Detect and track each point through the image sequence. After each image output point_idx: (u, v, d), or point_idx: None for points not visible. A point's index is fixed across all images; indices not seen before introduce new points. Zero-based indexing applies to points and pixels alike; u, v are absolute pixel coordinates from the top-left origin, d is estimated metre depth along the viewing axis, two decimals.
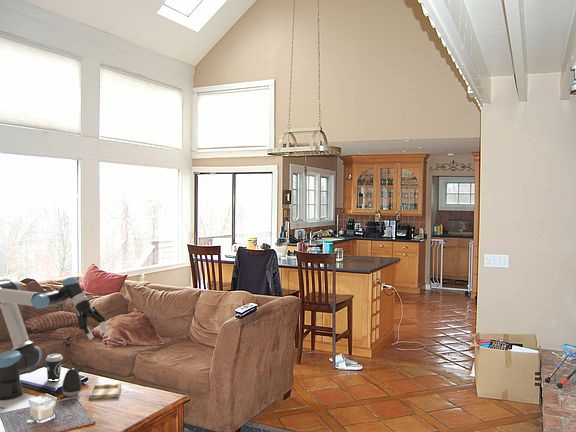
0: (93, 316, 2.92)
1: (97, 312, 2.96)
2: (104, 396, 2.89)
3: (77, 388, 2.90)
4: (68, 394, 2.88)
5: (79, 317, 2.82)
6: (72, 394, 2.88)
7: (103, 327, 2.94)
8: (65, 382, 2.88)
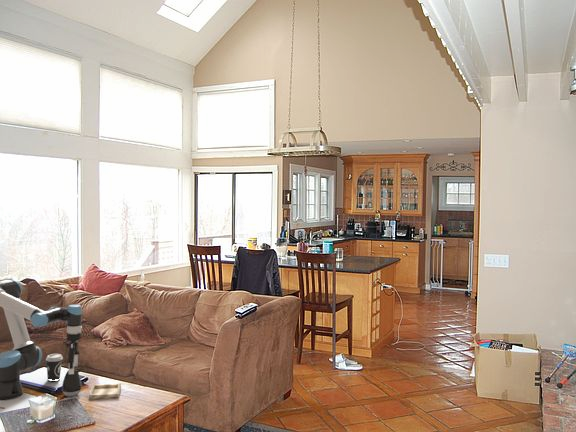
0: None
1: None
2: (104, 396, 2.89)
3: (77, 388, 2.90)
4: (68, 394, 2.88)
5: (71, 350, 2.84)
6: (72, 394, 2.88)
7: (75, 360, 2.98)
8: (65, 382, 2.88)
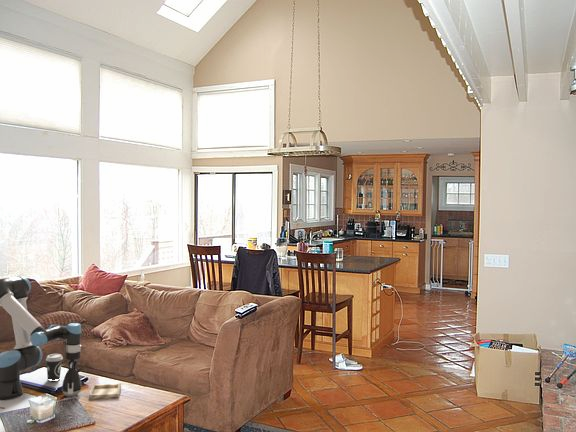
0: None
1: None
2: (104, 396, 2.89)
3: (77, 388, 2.90)
4: (68, 394, 2.88)
5: (70, 370, 2.85)
6: (72, 394, 2.88)
7: None
8: (65, 382, 2.88)
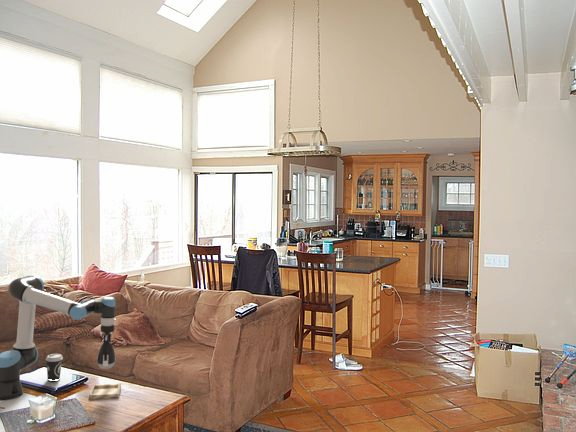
0: None
1: None
2: (104, 396, 2.89)
3: (112, 360, 2.94)
4: (103, 367, 2.92)
5: (106, 343, 2.89)
6: (107, 366, 2.92)
7: None
8: (100, 354, 2.92)
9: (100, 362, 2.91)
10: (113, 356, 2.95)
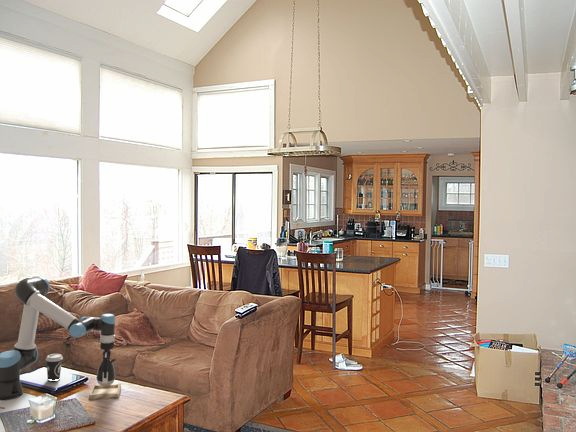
0: None
1: None
2: (104, 396, 2.89)
3: (112, 377, 2.94)
4: (103, 384, 2.92)
5: (105, 360, 2.89)
6: (107, 383, 2.93)
7: None
8: (100, 372, 2.92)
9: (100, 379, 2.92)
10: (113, 373, 2.95)
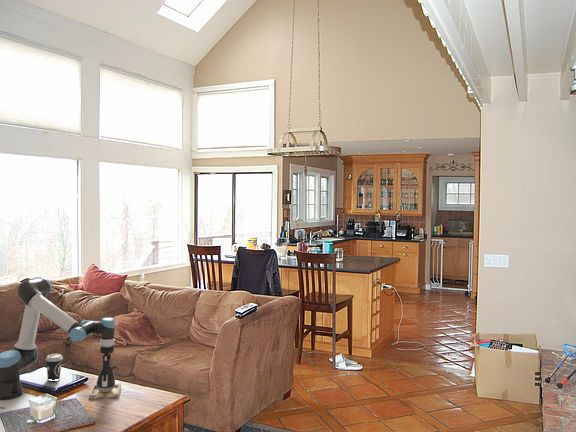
0: None
1: None
2: (104, 396, 2.89)
3: (112, 384, 2.94)
4: (102, 390, 2.93)
5: (105, 363, 2.89)
6: (106, 390, 2.93)
7: None
8: (100, 378, 2.93)
9: (100, 385, 2.92)
10: (113, 380, 2.96)
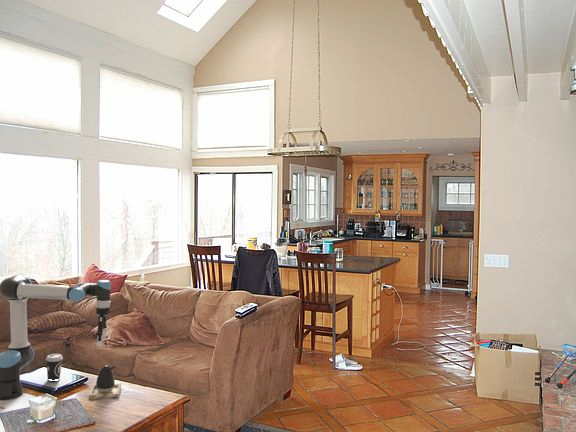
0: None
1: None
2: (104, 396, 2.89)
3: (111, 384, 2.94)
4: (102, 391, 2.92)
5: (100, 323, 2.95)
6: (106, 391, 2.93)
7: (103, 334, 3.09)
8: (99, 379, 2.92)
9: (99, 387, 2.92)
10: (112, 380, 2.95)
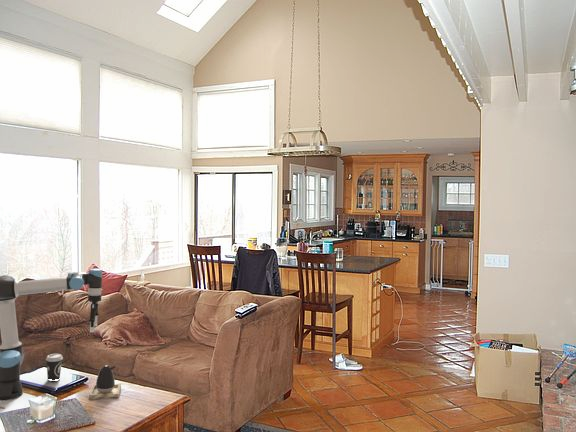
0: None
1: None
2: (104, 396, 2.89)
3: (111, 384, 2.94)
4: (102, 391, 2.92)
5: (92, 310, 3.07)
6: (106, 391, 2.93)
7: (95, 321, 3.21)
8: (99, 379, 2.92)
9: (99, 387, 2.92)
10: (112, 380, 2.95)
